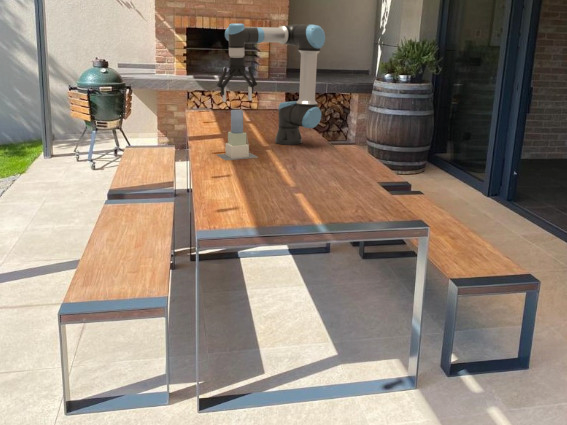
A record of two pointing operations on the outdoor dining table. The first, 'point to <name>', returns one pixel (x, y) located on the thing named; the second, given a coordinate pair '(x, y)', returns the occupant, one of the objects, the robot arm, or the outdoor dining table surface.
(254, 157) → the mat
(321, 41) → the robot arm
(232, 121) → the grey rounded cylinder
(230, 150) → the tower base
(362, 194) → the outdoor dining table surface
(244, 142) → the tower top
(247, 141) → the beige rounded lump
